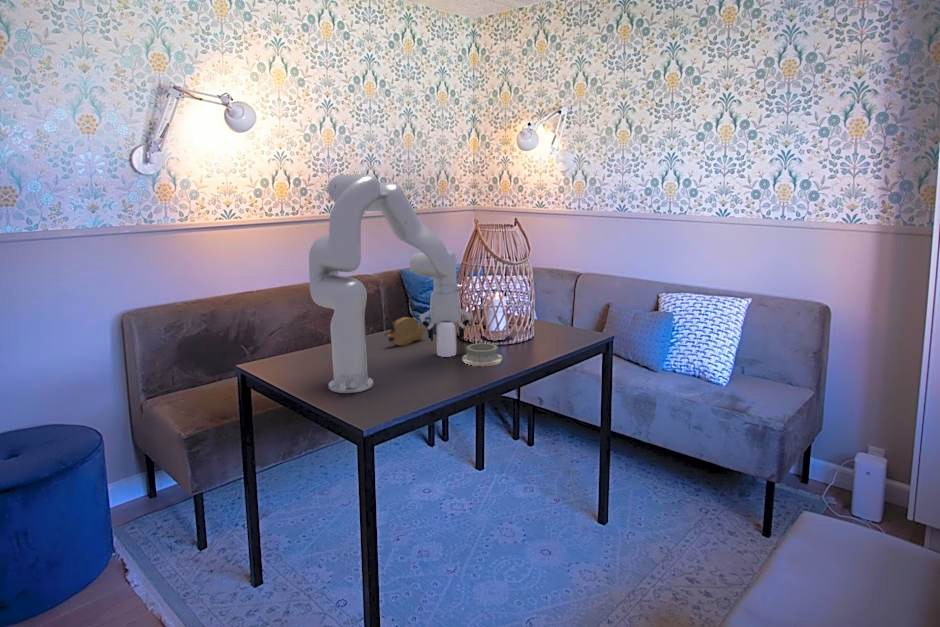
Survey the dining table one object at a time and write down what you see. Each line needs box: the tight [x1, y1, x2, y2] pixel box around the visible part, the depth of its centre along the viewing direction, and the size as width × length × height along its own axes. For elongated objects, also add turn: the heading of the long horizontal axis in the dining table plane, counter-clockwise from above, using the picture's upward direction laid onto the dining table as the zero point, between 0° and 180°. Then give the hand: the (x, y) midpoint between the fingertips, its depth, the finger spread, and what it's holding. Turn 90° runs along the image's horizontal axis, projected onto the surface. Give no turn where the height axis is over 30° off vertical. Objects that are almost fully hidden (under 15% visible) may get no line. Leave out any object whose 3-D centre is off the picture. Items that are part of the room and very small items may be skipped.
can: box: [435, 321, 457, 358], centre depth 211 cm, size 6×6×12 cm
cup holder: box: [461, 342, 503, 368], centre depth 205 cm, size 13×13×4 cm
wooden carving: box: [384, 316, 425, 347], centre depth 225 cm, size 16×5×10 cm, turn 139°
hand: (446, 339), depth 211 cm, fingers open, 9 cm apart
